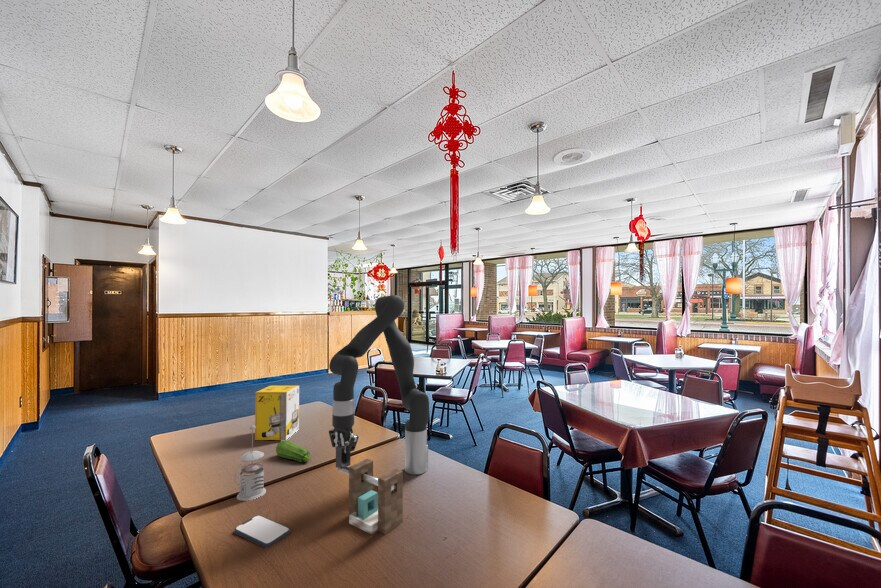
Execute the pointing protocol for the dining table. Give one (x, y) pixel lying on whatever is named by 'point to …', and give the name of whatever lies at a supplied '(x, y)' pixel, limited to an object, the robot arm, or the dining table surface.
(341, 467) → the shaft
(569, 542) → the dining table surface
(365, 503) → the block
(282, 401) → the packaging box
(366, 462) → the bearing frame
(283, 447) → the vegetable
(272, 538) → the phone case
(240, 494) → the french press
